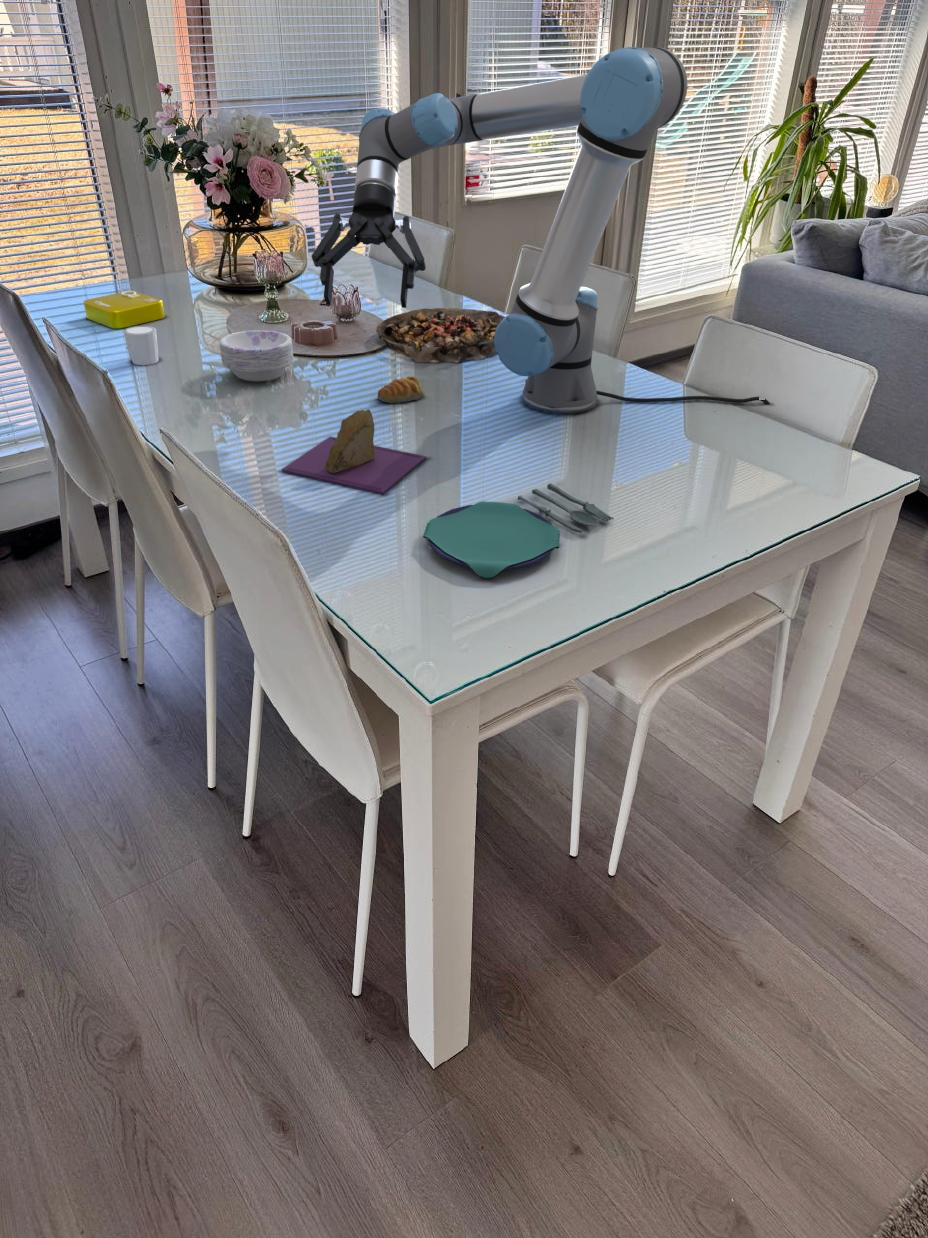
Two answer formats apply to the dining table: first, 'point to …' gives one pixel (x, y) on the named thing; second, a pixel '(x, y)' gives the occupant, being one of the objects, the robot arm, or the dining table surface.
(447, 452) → the dining table surface
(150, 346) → the white cylinder
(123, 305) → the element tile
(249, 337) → the paper bowls
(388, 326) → the food dish
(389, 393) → the pastry
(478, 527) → the cutlery set
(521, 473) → the dining table surface
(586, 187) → the robot arm
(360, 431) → the rock
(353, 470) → the cloth
